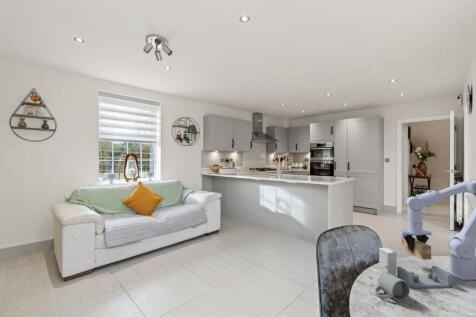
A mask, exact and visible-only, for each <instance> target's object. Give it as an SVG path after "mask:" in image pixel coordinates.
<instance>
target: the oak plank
mask: <svg viewBox="0 0 476 317" xmlns="http://www.w3.org/2000/svg"><path fill="white" fill-rule="evenodd" d="M401 249H402V250H403V251H406V252H408V254H411V255H413V256H414V257H417V258H418V259H420V260H422V261H423V260H424V261H425V260H426V261H428V260H432V245H430V244H427V243H422V242H420V241H418V240H417V239H415V242H414V251H410V250H409V248H408V245H407V243H406V241H405V239H404V237H403V236H401Z"/></svg>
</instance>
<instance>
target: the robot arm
mask: <svg viewBox="0 0 476 317" xmlns="http://www.w3.org/2000/svg"><path fill="white" fill-rule="evenodd" d="M461 193H468V194H472V195H473V196H474V197H475V198H476V178H472V179H469V180H465V181H461V182H459V183H457V184H455V185H451V186H448V187H446V188H444V189H441V190H438V191H437V190H434V189H433V190H430V189H428V190H426V192H424V193H421V194H418V193H417V194H416V195H415V196H409V197H407V199H406V201H405V205H406V206H407V228H406V229H405V230H401V231H400V230H399V231H398V232H399V233H398V234H399V236H400V237H404V239H405V241H406V243H407V245H408V248H409V250H410V251H414V242H415V240H418V241H420V242H422V243H425V244H427V242H428V240H430V239H429V237H430V236H433V235H432V231H431V230H429V229H424V228H423V227H424V224H423V222H424V221H423V219H424V218H423V209H424V208H425V207H426V208H427V207H429V206H431V205H435V204H438V203H441V202H442V200H443V199H444V198H447V197H451V196H454V195H459V194H461ZM468 217H469V218H468V219H467V221H466V223H465V224H464V225H463V227H462V229H461V230H460V232H458V233H455V234H454V236H453V237H451V238H449V240H448V241H447V246H448V248H449V249H450V251H449V261H450V263H449V264H450V269H445V270H444V271H445V272H447V273H449V274H451V275H452V277H453V276H454V277H456V278H457V279H459V280H461V281H466V280H467V281H468V280H470V281H471V280H476V256H475V254H476V207H475V208H474V210H473V211H472V213H471V214H470V216H468ZM414 236H415V237H414Z"/></svg>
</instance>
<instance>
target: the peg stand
mask: <svg viewBox="0 0 476 317" xmlns="http://www.w3.org/2000/svg"><path fill="white" fill-rule="evenodd" d="M396 277H397V278H399V279H402V280H404V281H405V282H406V283H407V284H408V285H409V289H410V288H411V289H416V288H417V289H421V288H424V289H425V288H453V275H451V274H450V273H448V272H446V271H445V270H444V269H442V268H440V267H438V266H436V265H432V266H431V271H427V274H415V273H414V272H413V271H407V269H405V268H403V267H401V266H396Z"/></svg>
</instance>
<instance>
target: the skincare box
mask: <svg viewBox="0 0 476 317" xmlns="http://www.w3.org/2000/svg"><path fill="white" fill-rule="evenodd" d="M378 251H379V252H378V253H379V254H378V273H379V275H380V276H381V275H382V274H384V273H388V274H391V275H393V276H395V277H397V259H398V258H397V256H398V254H397V252H396V251H394V250H392V249H390V248H389V247H379V249H378Z"/></svg>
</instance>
